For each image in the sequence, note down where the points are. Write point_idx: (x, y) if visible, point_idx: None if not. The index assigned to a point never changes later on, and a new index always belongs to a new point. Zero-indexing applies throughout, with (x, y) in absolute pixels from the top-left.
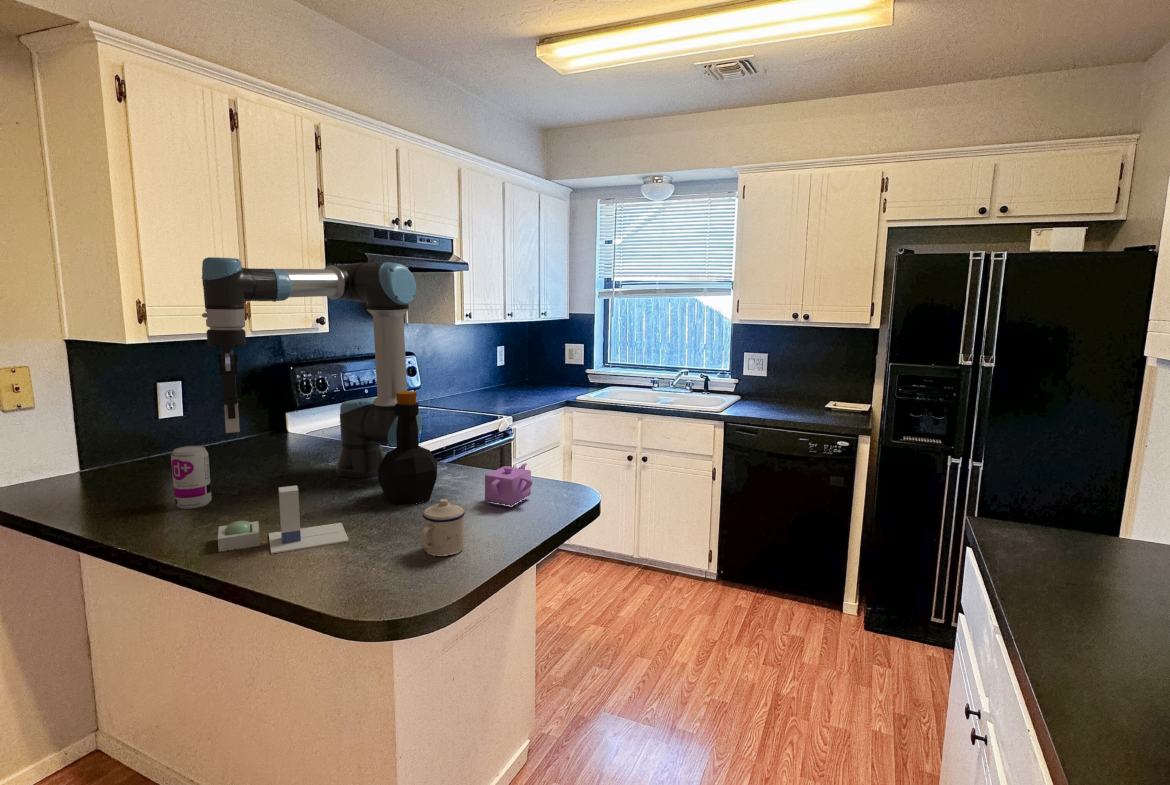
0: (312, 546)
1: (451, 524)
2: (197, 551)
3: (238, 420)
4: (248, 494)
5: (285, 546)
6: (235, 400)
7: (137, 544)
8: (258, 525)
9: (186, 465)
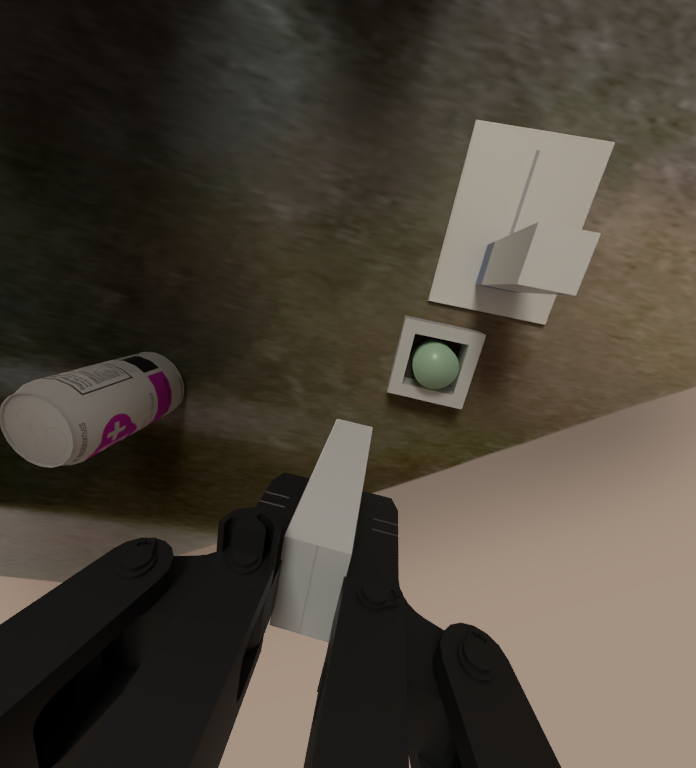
0: None
1: None
2: (426, 426)
3: (366, 463)
4: (134, 274)
5: None
6: (506, 679)
7: None
8: (435, 324)
9: (111, 432)
